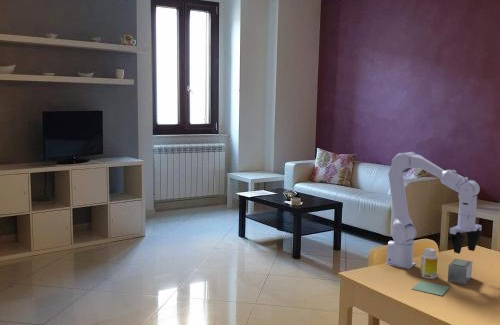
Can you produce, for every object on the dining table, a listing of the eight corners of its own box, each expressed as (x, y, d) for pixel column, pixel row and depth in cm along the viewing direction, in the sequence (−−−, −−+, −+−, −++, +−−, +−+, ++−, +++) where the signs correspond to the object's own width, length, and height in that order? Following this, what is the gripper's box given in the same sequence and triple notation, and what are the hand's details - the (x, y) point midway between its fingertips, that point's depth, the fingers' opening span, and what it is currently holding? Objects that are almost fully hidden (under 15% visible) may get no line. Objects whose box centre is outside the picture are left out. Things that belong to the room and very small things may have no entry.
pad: (411, 289, 171) (411, 288, 171) (420, 281, 179) (420, 280, 179) (442, 296, 166) (442, 295, 166) (449, 287, 174) (449, 286, 174)
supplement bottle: (439, 278, 183) (441, 250, 182) (428, 280, 181) (430, 252, 180) (428, 273, 188) (429, 246, 187) (416, 275, 186) (418, 248, 185)
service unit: (447, 281, 180) (448, 264, 179) (454, 273, 188) (455, 257, 188) (465, 285, 177) (466, 267, 176) (471, 277, 185) (472, 260, 184)
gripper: (462, 218, 174) (459, 257, 175) (490, 215, 181) (487, 252, 182) (446, 214, 180) (443, 251, 181) (473, 211, 187) (470, 247, 188)
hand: (464, 251), depth 182 cm, fingers open, 7 cm apart
